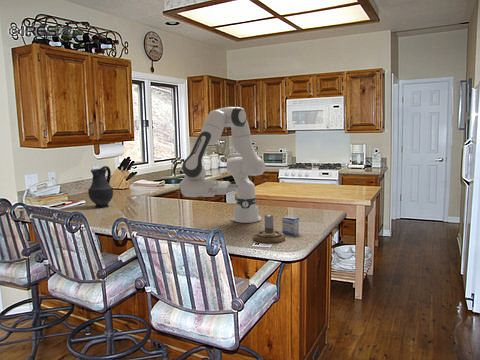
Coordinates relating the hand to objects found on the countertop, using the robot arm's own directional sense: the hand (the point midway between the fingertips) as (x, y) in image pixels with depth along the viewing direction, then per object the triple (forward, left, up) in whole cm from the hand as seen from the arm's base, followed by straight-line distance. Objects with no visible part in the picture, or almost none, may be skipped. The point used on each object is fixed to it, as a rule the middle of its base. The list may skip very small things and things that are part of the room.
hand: (237, 187), depth 209 cm
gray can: (+5, +16, -24) cm, 29 cm away
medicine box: (-7, +27, -26) cm, 38 cm away
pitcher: (-83, -111, -26) cm, 141 cm away
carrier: (+5, +16, -26) cm, 31 cm away
